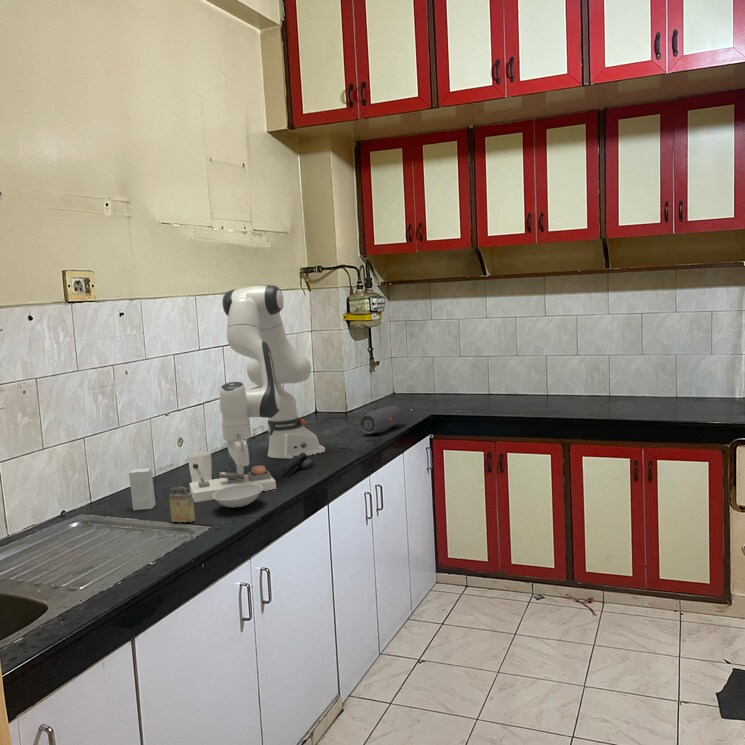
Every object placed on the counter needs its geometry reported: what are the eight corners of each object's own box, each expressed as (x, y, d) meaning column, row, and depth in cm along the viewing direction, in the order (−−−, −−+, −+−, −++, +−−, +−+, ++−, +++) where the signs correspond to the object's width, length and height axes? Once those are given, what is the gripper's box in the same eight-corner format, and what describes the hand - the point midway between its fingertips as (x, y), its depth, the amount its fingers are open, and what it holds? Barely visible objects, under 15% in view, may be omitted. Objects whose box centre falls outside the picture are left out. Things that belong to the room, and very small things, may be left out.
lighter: (197, 519, 215) (194, 485, 213) (191, 523, 211) (188, 489, 210) (175, 519, 216) (171, 486, 215) (168, 523, 213) (165, 489, 211)
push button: (264, 471, 248) (263, 464, 248) (266, 474, 244) (266, 467, 244) (251, 473, 247) (250, 466, 246) (253, 476, 242) (252, 469, 242)
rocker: (242, 476, 246) (242, 473, 246) (244, 479, 242) (244, 476, 241) (219, 474, 243) (219, 471, 243) (220, 477, 239) (221, 474, 239)
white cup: (204, 477, 263) (201, 450, 262) (218, 480, 258) (215, 452, 257) (185, 483, 257) (182, 455, 256) (199, 486, 252) (197, 457, 251)
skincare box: (155, 505, 232) (152, 467, 231) (152, 509, 228) (148, 471, 227) (136, 506, 232) (132, 469, 231) (132, 510, 228) (128, 472, 227)
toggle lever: (205, 479, 241) (196, 462, 239) (206, 481, 239) (197, 463, 237) (200, 482, 240) (191, 464, 239) (201, 483, 238) (192, 465, 237)
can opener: (299, 465, 273) (298, 450, 272) (316, 466, 270) (315, 451, 269) (274, 478, 257) (273, 462, 256) (292, 479, 254) (290, 463, 253)
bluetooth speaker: (377, 437, 311) (376, 414, 310) (359, 436, 316) (357, 413, 315) (404, 426, 330) (402, 404, 329) (386, 425, 335) (384, 404, 334)
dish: (232, 498, 234) (231, 482, 234) (273, 499, 230) (272, 483, 229) (203, 515, 218) (201, 499, 217) (246, 517, 213) (245, 500, 213)
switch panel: (267, 480, 254) (266, 466, 253) (276, 489, 240) (275, 476, 240) (190, 491, 245) (188, 478, 245) (194, 502, 232) (193, 488, 232)
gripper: (251, 436, 233) (255, 479, 234) (241, 426, 252) (244, 465, 254) (231, 439, 231) (235, 482, 232) (222, 428, 250) (226, 468, 252)
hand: (240, 473), depth 243 cm, fingers closed
